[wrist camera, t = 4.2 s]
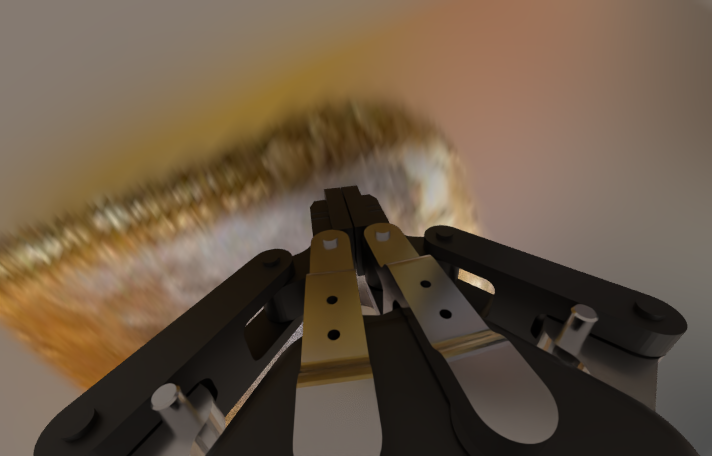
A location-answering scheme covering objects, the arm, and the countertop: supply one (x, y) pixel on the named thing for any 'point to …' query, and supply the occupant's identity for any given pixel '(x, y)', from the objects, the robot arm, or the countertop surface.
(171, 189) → the countertop surface
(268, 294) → the robot arm
